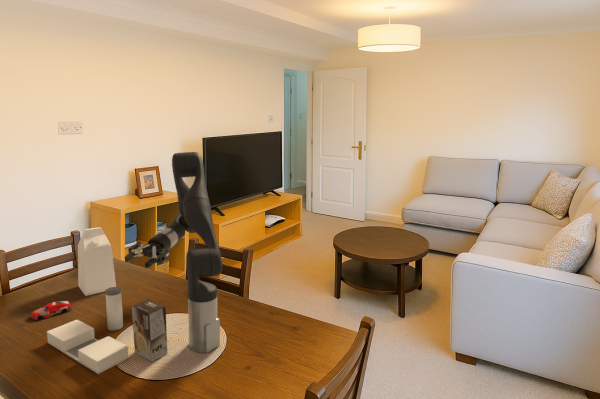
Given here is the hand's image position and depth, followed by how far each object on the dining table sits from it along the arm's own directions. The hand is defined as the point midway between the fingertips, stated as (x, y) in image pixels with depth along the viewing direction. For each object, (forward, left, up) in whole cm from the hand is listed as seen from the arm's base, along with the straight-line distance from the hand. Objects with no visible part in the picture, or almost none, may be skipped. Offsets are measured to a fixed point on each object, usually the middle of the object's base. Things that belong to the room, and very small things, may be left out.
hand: (135, 263), depth 152 cm
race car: (+28, +16, -22) cm, 39 cm away
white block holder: (-5, +22, -21) cm, 32 cm away
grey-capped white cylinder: (+1, +8, -22) cm, 23 cm away
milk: (+36, -7, -22) cm, 43 cm away
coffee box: (-22, +11, -22) cm, 33 cm away
